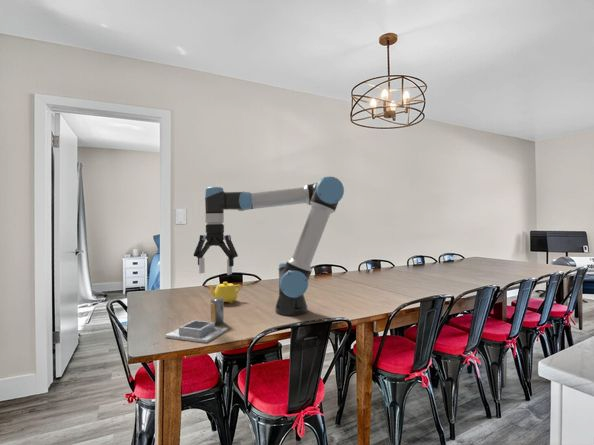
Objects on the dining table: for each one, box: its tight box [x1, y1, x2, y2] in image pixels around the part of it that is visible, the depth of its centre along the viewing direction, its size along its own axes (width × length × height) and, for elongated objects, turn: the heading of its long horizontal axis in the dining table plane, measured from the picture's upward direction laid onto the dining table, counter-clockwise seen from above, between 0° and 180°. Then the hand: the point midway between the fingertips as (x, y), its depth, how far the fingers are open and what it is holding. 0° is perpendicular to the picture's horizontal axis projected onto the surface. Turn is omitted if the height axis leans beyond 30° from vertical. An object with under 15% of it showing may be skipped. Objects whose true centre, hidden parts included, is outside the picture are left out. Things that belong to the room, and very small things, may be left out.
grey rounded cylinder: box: [210, 297, 225, 326], centre depth 139 cm, size 5×6×10 cm
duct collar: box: [164, 319, 228, 344], centre depth 126 cm, size 18×14×4 cm
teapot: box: [206, 281, 242, 304], centre depth 175 cm, size 18×11×11 cm, turn 110°
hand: (215, 273), depth 140 cm, fingers open, 13 cm apart
